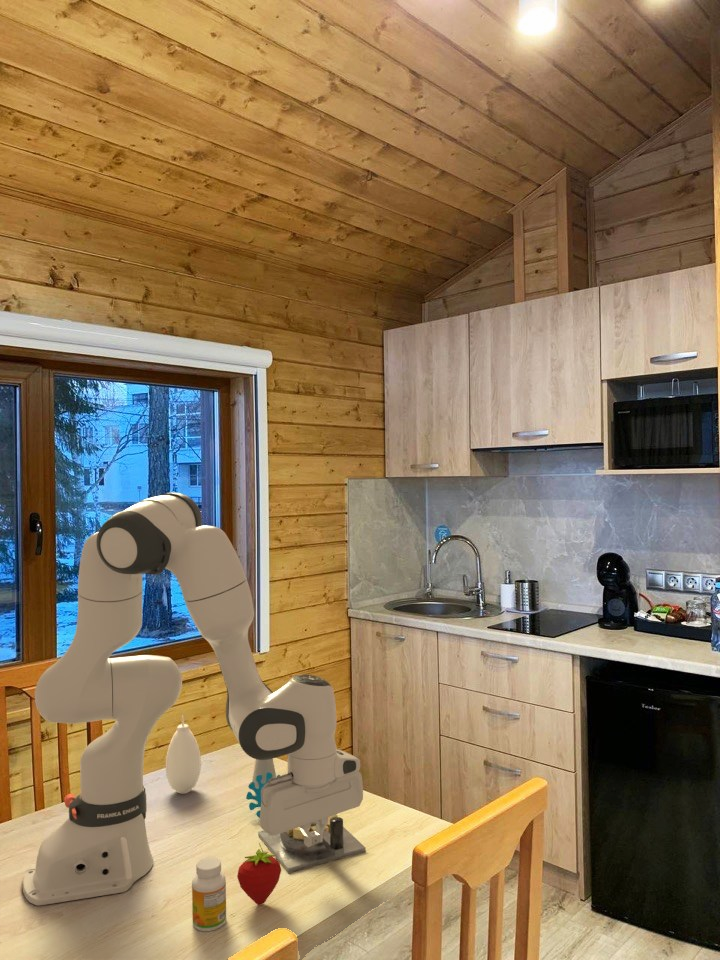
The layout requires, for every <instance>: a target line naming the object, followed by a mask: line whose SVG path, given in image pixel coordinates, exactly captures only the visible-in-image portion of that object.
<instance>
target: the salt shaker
mask: <svg viewBox="0 0 720 960" xmlns="http://www.w3.org/2000/svg"><path fill="white" fill-rule="evenodd" d="M267 773H272V778H276V777H277V773H276V769H275V762H274V758H273V759H269V760H258V759H255V761H254V767H253V773H252V780H251V782H254V783H255V788H256V789H258V788H259V784H258V782H257V781H256V776H258V775H262V780H261V783H262V784H264V783H265V782H266V774H267ZM254 794H255V795H256V793H255V792H254Z"/></svg>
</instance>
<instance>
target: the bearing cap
mask: <svg viewBox="0 0 720 960" xmlns="http://www.w3.org/2000/svg"><path fill="white" fill-rule="evenodd" d="M316 824H317V821H315V822H312V823H311V826H315V825H316ZM257 835H258V837H259V838H260V840H261V841H262V842H263V844H265V846H266V847H267V848H268V850H269V851H270V852H271V854H272V855H276V856H274V858H275V859H276V860H278V861H279V863H280V865H281V866H282V867H283V868H284V870H285V871H286V872H287V873H292V872H296V871H299V870H304V869H307V868H311V867H314V866H319V865H321V864H325V863H329V862H333V861H336V860H340V859H343V858H347V857H351V856H354V855H359V854H361V853H365V852H366V849H367V848H366V846H365V845H364V844H362V843H361V841H359V840H358V839H357V838H356V837H355V836H354V835H353V834H352V833H350V831H349V830H348V829H346V828H345V827H344V826H343V847H344V855H341V856H337V857H335V856H334V855H333V854H332V853H331V852H330V851H329V850H328V849H327V848H326V847H325V846H324V845H323V844H322V843H318V844H316V845H313V846H310V847H307V846H306V845H305V844H304V840H299V839H293V836H290V837H289V836H288V835H287V834H286V833H285V832H283V833H280V834H278V835H275V836H271V835H269V834H268V833H266V832H265V831H264V830H260V831H258V832H257Z"/></svg>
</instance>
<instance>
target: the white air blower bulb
mask: <svg viewBox="0 0 720 960" xmlns="http://www.w3.org/2000/svg"><path fill="white" fill-rule="evenodd" d="M184 717H185V716H184V714H182V715H181V724H179V725H178V726H176V731H175V732H174V733H173V735H172V738H171V740H170V742H169V745H168V748H167V753H166V758H165V773H166V779H167V781H168V782H167V783H168V784H169V786H170V787H171V789H172V790H174V791H175V792H176V793H179V794H181V795H185V794H188V793H189V792H191V791H192V789H194V787H196V785H197V783H198V781H199V778H200V775H201V769H202V760H201V757H202V756H201V752H200V747H199V745H198V742H197V738H196V737H195V736H194V735H195V734H193V732H192V730H191V729H190V726H189V725H188V724H186V723H185V719H184Z"/></svg>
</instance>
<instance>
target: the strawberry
mask: <svg viewBox="0 0 720 960" xmlns="http://www.w3.org/2000/svg"><path fill="white" fill-rule="evenodd" d="M258 845H259V847H260V848H258V849H257V851H256V852H255V854H254V855H249V856H244V859H246V860H245V861H243V862H242V863H241V864H240V866H239V867H238V870H237V875H236V877H237V881H238V883H239V886H240V888H241V890H243V892H244V893H245V894H246V895H247V897H249V899H250V900H252V901H253V902H254V903H255V904H256V905H257V906H261V905H262V906H263V904H265V903H266V901H267V899H268V898H269V897H270V896H271V895H272V893H273V892H274V890H275V888H276V886H277V884H278V883H279V881H280V877H281V874H282V873H281V872H282V867H281V863H280V862H279V861H278V859H277V858H276V857H275V856H276V855H274V854H269V851H265V852H264V850H263V848H262V846H261V844H260V842H259V843H258ZM260 849H261V850H260Z"/></svg>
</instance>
